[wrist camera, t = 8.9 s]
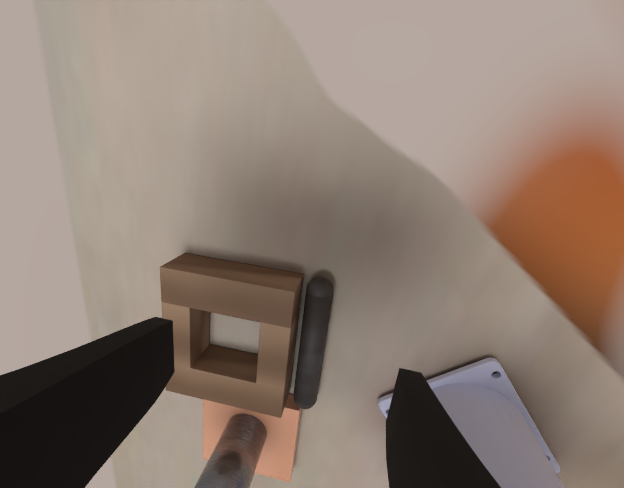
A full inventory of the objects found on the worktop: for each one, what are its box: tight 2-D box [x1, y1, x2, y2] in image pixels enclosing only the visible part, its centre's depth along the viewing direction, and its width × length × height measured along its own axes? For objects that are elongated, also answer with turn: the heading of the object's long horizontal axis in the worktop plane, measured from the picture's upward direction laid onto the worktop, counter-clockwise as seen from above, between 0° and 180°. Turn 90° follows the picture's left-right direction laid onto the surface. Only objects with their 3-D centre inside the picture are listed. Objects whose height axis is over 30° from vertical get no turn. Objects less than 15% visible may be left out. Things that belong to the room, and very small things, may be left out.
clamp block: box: [160, 253, 333, 418], centre depth 19 cm, size 10×10×2 cm
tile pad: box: [203, 394, 302, 482], centre depth 22 cm, size 7×7×1 cm
